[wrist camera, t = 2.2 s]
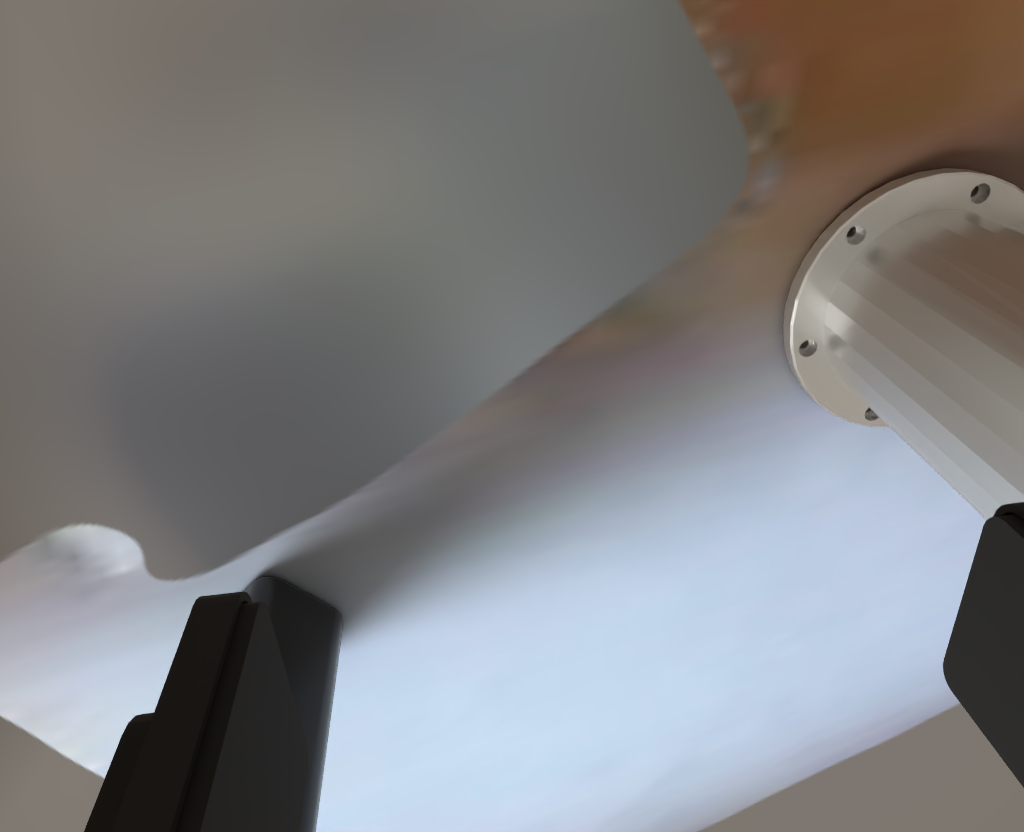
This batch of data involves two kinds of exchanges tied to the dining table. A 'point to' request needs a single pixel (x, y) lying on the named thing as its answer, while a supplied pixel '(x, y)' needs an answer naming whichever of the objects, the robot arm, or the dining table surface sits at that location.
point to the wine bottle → (306, 670)
